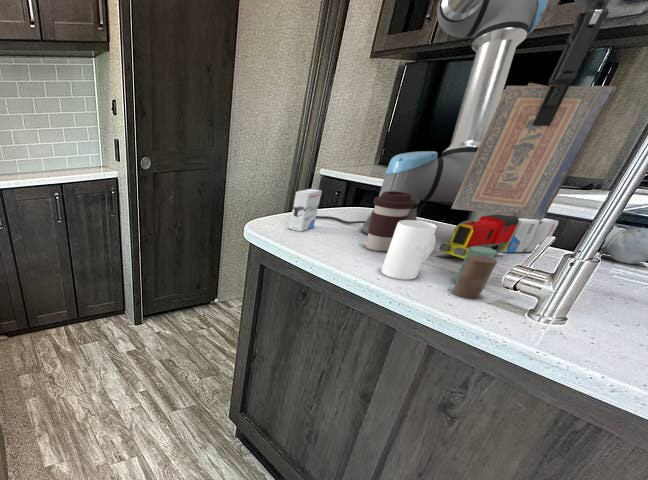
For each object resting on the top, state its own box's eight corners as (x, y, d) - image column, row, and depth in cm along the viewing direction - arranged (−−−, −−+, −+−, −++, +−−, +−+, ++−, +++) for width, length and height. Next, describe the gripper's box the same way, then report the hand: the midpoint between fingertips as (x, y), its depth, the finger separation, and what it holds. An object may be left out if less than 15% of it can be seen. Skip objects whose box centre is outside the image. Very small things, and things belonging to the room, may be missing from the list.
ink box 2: (492, 248, 116) (526, 247, 117) (507, 253, 112) (543, 252, 113) (506, 217, 111) (542, 217, 113) (523, 221, 107) (560, 220, 109)
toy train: (504, 254, 110) (524, 217, 105) (459, 263, 104) (477, 224, 99) (479, 248, 116) (497, 212, 110) (434, 256, 109) (450, 218, 104)
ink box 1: (301, 224, 138) (309, 188, 132) (314, 227, 135) (323, 190, 129) (287, 228, 134) (295, 191, 127) (301, 231, 131) (309, 193, 124)
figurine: (579, 258, 110) (651, 278, 100) (600, 225, 105) (680, 242, 94) (597, 250, 114) (669, 268, 103) (619, 218, 108) (698, 233, 97)
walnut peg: (451, 295, 88) (468, 259, 83) (453, 288, 91) (469, 253, 87) (478, 300, 85) (497, 264, 81) (479, 293, 89) (497, 258, 84)
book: (450, 211, 92) (508, 78, 79) (451, 208, 97) (505, 82, 84) (543, 223, 84) (624, 78, 71) (539, 219, 89) (614, 82, 76)
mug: (437, 275, 98) (459, 225, 91) (400, 281, 94) (420, 230, 88) (409, 265, 104) (427, 217, 97) (373, 270, 101) (390, 221, 94)
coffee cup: (367, 241, 122) (384, 188, 113) (402, 248, 116) (422, 193, 107) (354, 248, 116) (371, 193, 107) (390, 256, 110) (410, 198, 102)
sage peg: (453, 284, 93) (469, 250, 89) (454, 277, 96) (470, 244, 92) (479, 288, 91) (497, 254, 86) (479, 282, 94) (496, 248, 90)
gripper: (662, -51, 60) (569, 127, 73) (631, -23, 73) (557, 123, 86) (595, -42, 64) (518, 126, 77) (577, -18, 77) (514, 122, 90)
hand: (539, 124), depth 82 cm, fingers closed on book, 7 cm apart
